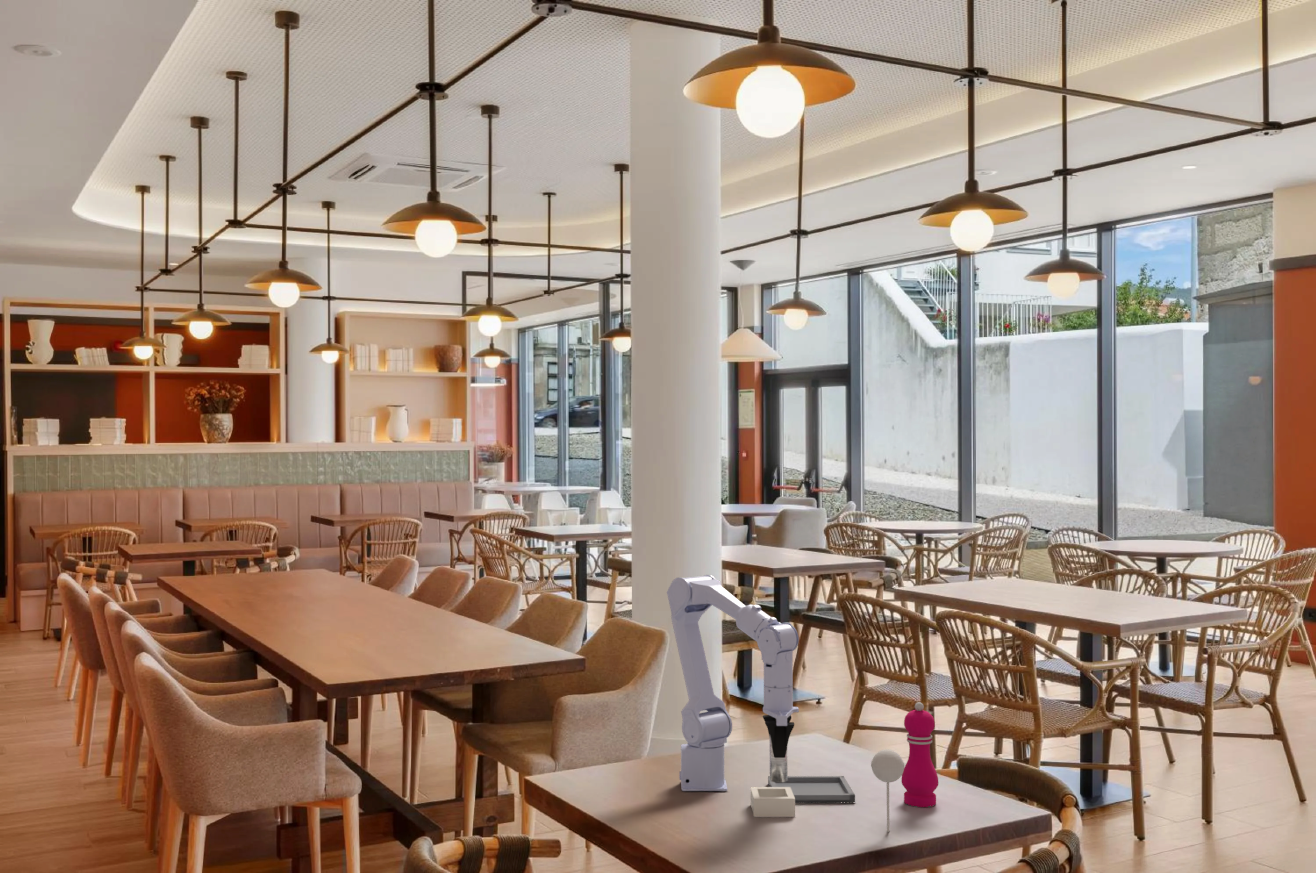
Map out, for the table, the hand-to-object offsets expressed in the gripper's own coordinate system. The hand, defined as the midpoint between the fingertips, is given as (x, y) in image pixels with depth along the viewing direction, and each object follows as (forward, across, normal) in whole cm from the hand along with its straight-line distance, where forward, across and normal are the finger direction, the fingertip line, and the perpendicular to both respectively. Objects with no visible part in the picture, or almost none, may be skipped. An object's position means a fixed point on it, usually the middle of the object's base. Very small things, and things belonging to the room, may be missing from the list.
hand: (778, 754), depth 225 cm
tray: (+10, +10, -8) cm, 16 cm away
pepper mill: (+11, +3, -28) cm, 31 cm away
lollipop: (+11, -15, -19) cm, 26 cm away
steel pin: (+5, 0, 0) cm, 5 cm away
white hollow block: (+10, -2, +1) cm, 11 cm away
